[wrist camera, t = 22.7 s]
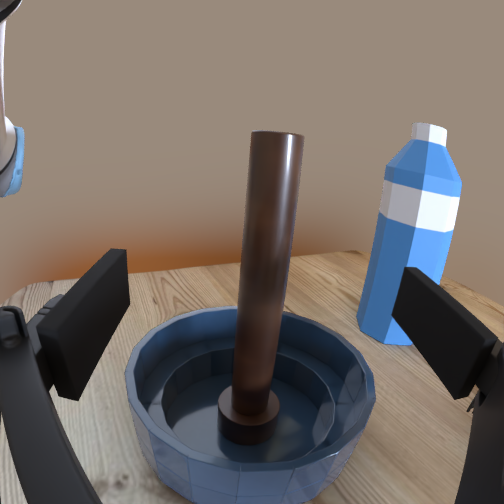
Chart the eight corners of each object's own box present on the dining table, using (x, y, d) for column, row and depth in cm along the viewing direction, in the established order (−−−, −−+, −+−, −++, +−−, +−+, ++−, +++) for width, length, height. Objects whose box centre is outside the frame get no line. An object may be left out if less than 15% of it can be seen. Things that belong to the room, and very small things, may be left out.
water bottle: (434, 339, 35) (483, 139, 26) (380, 352, 32) (431, 117, 24) (395, 305, 43) (429, 132, 35) (342, 312, 41) (375, 116, 32)
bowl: (101, 468, 16) (74, 409, 14) (187, 348, 31) (186, 292, 29) (341, 533, 13) (381, 490, 11) (348, 380, 28) (366, 323, 26)
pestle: (209, 437, 20) (221, 126, 13) (226, 398, 24) (246, 131, 17) (269, 451, 19) (322, 135, 12) (280, 410, 23) (323, 139, 17)
